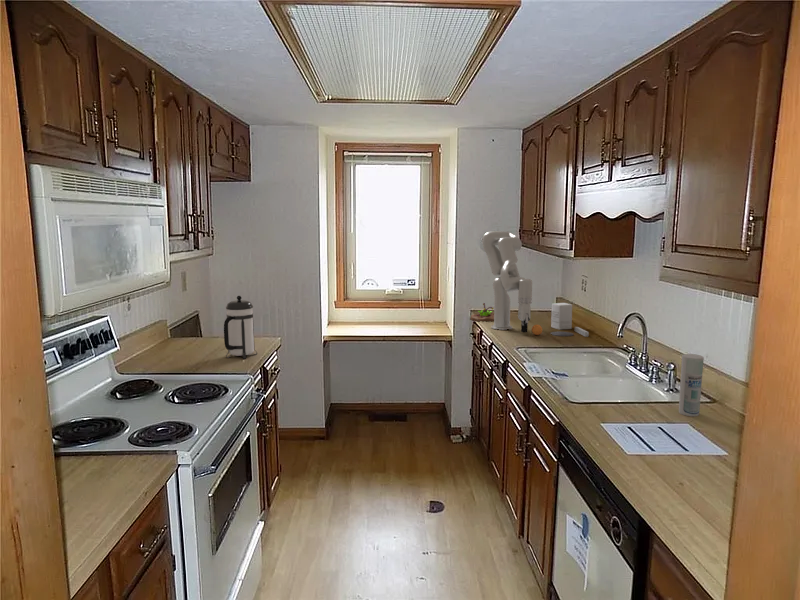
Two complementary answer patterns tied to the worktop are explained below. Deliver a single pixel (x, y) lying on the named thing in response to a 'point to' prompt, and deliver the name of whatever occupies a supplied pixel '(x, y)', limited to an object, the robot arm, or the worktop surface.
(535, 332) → the ball
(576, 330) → the stopper wall
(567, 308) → the supplement box
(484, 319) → the plant
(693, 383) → the spray can
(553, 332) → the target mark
